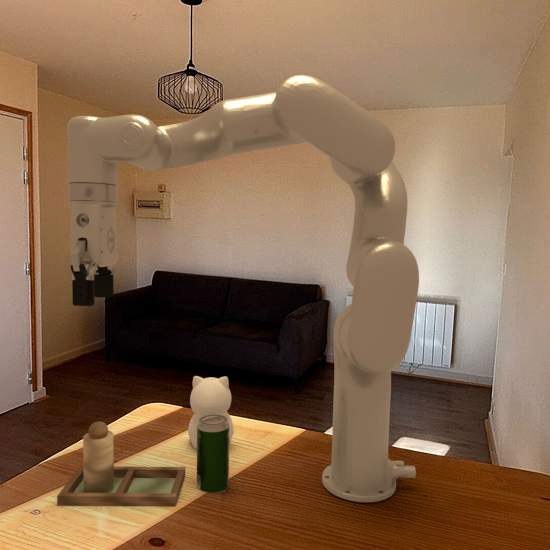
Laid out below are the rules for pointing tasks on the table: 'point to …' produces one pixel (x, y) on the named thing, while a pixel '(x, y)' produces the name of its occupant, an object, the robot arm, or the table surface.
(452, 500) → the table surface
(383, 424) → the robot arm
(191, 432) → the cat figurine
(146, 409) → the table surface
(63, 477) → the table surface
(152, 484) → the caddy
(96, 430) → the pepper mill
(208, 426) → the guarana soda can
